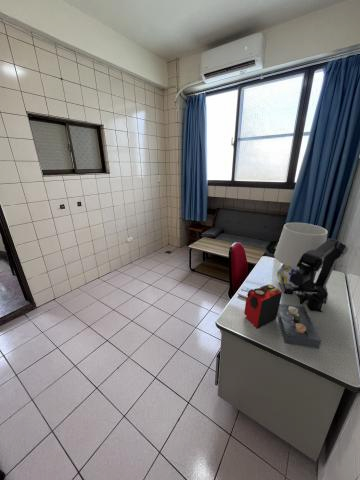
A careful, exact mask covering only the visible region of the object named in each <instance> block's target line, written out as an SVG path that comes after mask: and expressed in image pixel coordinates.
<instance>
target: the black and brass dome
mask: <svg viewBox="0 0 360 480" xmlns="http://www.w3.org/2000/svg"><path fill="white" fill-rule="evenodd" d="M300 318H301V317H300V316H299V314H298V313H296V314H295V315H294V316H293V320H294V321H295V322H300Z"/></svg>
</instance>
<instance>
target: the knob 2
mask: <svg viewBox="0 0 360 480" xmlns="http://www.w3.org/2000/svg"><path fill="white" fill-rule="evenodd" d="M295 327H296V329H295V330H296V332H298V333H304V332H305V331H306V327H305V326H304V325H303V324H300V323H297V324H296V325H295Z"/></svg>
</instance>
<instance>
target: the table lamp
mask: <svg viewBox="0 0 360 480" xmlns="http://www.w3.org/2000/svg"><path fill="white" fill-rule="evenodd" d="M327 239H328V230H327V229H326V228H324V227H322V226H319V225H316V224H315V225H314V224H311V223H305V222H287V223H285V224H284V225H283V228H282V230H281V234H280V237H279V241H278V242H277V246H276V247H275V248H276V249H275V251H274V255H273V256H274V259H276V260H277V262H279V263H281V264H282V265H281V266H280V267H279V268H278V270H277V273H276V277H277V280H278V283H279V284H280V285H281V286H282V284H283V283H288V284H291V285H292V287H298V286H296V285H294V284H293V283H292V282H291V280H290V276H291V274H293V273H295V272H296V271H298V270H299V267H297V264H298V262H299V260H300V259H301V257H302V255H303V254H304V253H306V252H307V251H309V250H315V249H317V248H318V247H319V246H321V245H322V244H323V243H325V242H326V240H327ZM324 259H325V257H324V258H323V261H324ZM302 264H304V263H303V262H302ZM304 265H307V264H304ZM322 267H323V265H322V266H321V268H322Z"/></svg>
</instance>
